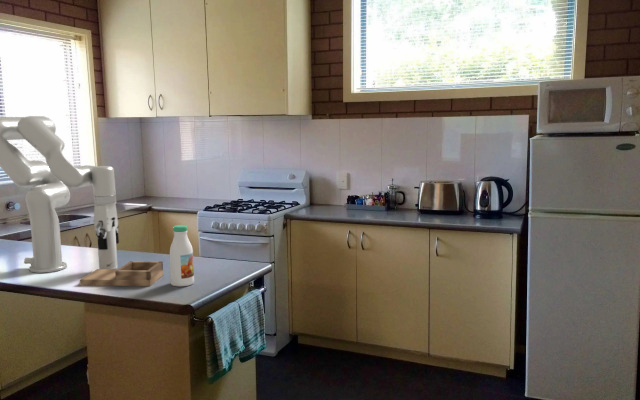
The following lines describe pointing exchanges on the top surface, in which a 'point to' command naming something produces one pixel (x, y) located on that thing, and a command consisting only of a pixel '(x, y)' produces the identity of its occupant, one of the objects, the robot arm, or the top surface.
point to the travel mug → (109, 250)
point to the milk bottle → (181, 258)
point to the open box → (126, 275)
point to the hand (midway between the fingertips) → (108, 246)
